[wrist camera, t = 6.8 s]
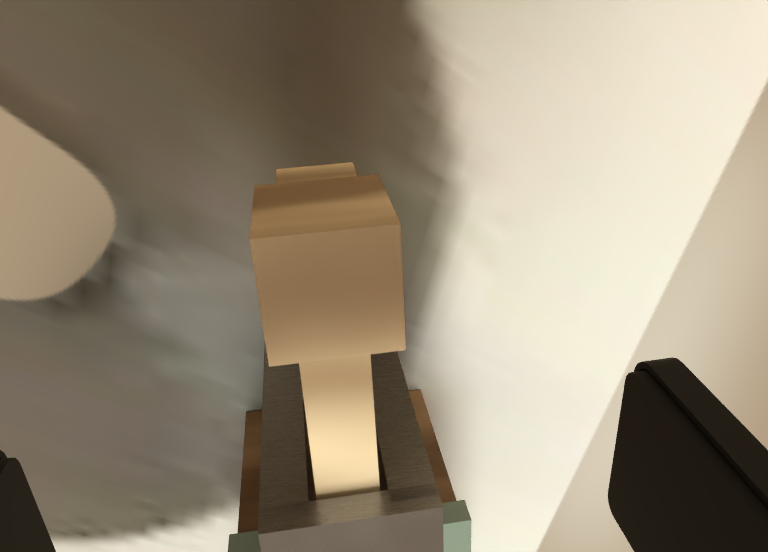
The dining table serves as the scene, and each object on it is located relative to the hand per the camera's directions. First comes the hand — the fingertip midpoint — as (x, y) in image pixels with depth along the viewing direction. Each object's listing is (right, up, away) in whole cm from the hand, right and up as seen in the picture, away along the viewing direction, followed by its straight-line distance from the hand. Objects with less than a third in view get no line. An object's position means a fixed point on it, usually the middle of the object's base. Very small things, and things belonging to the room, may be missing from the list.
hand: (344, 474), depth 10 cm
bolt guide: (-2, -1, +26) cm, 26 cm away
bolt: (-1, +1, +13) cm, 13 cm away
